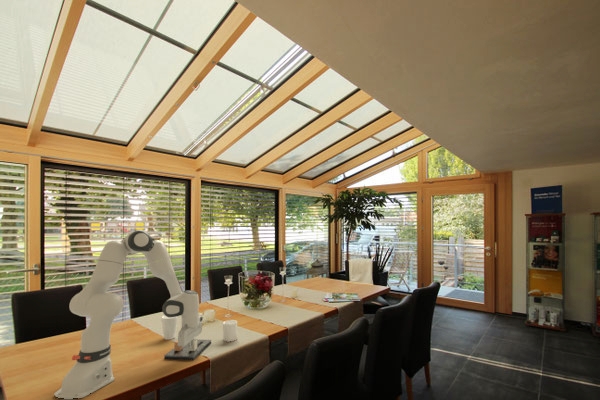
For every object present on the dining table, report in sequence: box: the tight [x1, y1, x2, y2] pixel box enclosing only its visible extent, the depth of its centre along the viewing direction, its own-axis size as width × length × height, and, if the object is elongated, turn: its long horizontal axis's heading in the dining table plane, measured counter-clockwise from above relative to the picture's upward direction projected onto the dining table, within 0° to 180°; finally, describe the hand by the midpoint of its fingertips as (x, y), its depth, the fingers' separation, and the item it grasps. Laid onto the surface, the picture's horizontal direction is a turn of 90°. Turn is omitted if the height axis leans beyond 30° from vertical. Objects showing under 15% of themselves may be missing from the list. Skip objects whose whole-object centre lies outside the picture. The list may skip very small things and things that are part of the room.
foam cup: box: [161, 314, 179, 341], centre depth 190 cm, size 10×9×13 cm
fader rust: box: [173, 339, 183, 351], centre depth 165 cm, size 4×3×5 cm
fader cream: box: [189, 339, 198, 351], centre depth 165 cm, size 4×3×5 cm
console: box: [163, 339, 212, 361], centre depth 169 cm, size 22×16×2 cm
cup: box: [222, 319, 238, 343], centre depth 187 cm, size 8×12×10 cm
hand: (190, 348), depth 161 cm, fingers closed
